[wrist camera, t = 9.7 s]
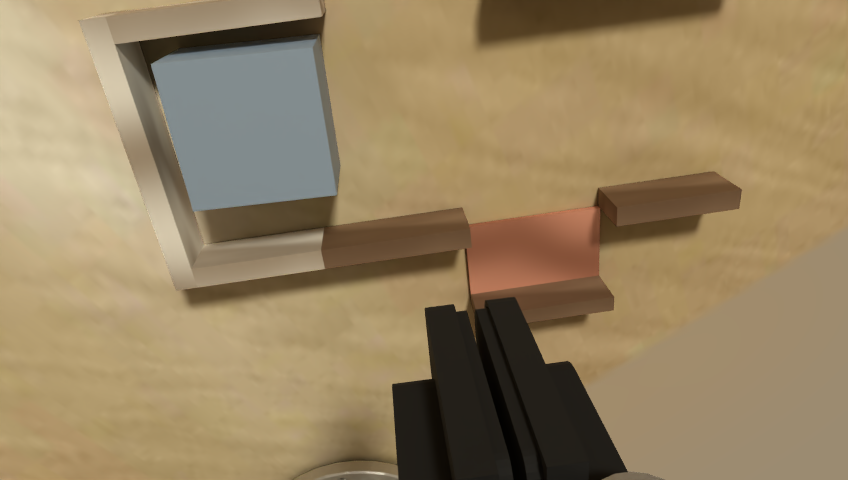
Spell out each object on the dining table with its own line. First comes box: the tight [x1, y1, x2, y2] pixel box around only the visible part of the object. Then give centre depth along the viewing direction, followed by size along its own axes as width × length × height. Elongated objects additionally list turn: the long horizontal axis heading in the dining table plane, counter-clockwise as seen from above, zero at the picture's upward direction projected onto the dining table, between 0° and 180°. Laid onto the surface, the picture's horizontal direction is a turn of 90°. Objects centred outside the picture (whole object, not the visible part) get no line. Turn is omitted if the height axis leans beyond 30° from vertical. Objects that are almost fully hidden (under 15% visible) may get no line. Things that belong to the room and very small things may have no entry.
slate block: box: [151, 34, 340, 212], centre depth 25 cm, size 6×6×4 cm
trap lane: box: [79, 0, 742, 323], centre depth 26 cm, size 22×27×2 cm
